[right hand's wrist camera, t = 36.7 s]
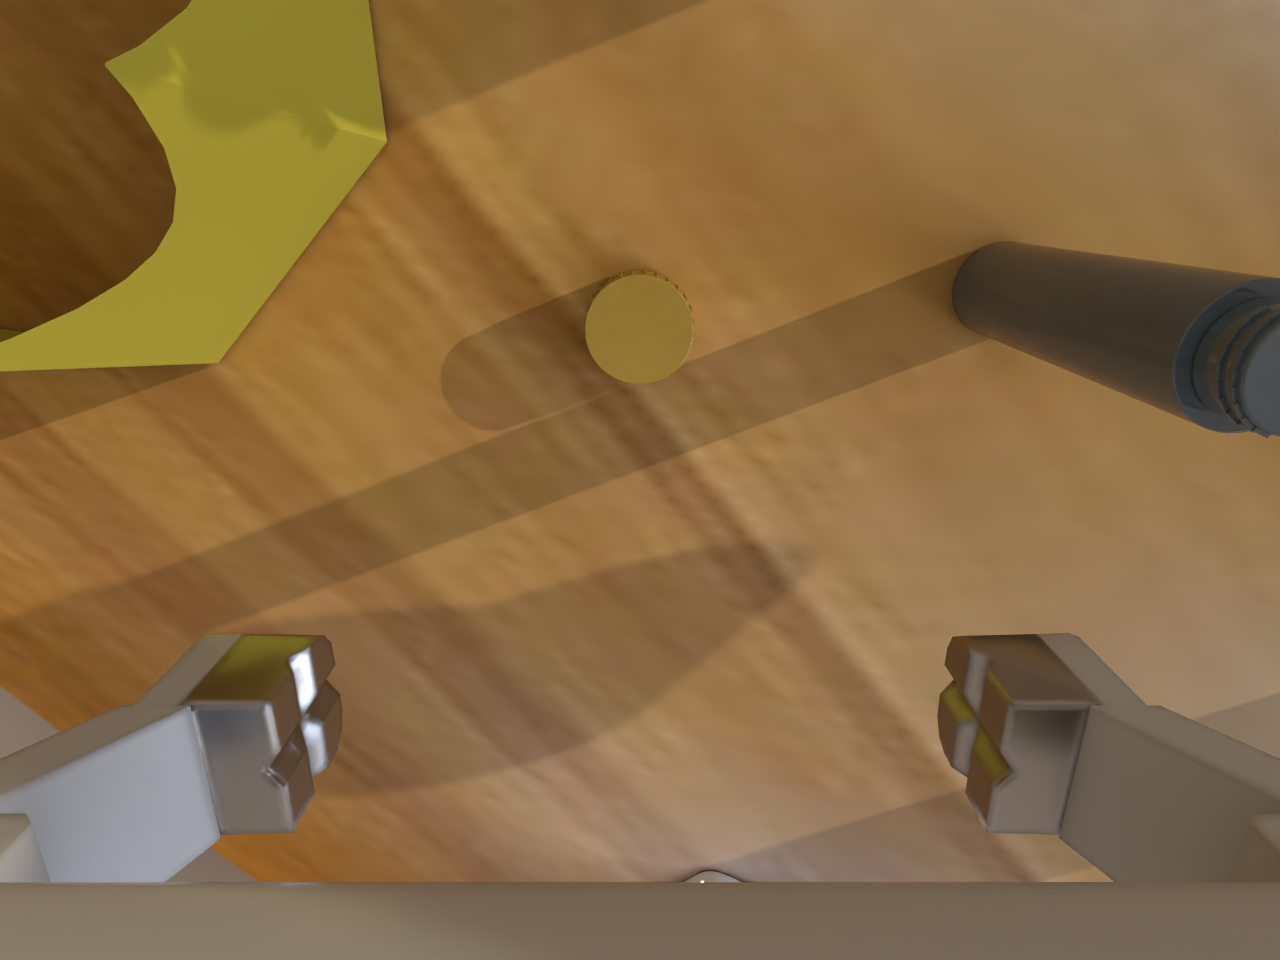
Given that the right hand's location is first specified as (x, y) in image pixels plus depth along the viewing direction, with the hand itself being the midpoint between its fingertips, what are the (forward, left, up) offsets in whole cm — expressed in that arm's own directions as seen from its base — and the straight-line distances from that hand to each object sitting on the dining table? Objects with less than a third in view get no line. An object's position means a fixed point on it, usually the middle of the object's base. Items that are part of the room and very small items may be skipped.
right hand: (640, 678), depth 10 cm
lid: (0, 0, -28) cm, 28 cm away
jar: (+16, -6, -30) cm, 34 cm away
